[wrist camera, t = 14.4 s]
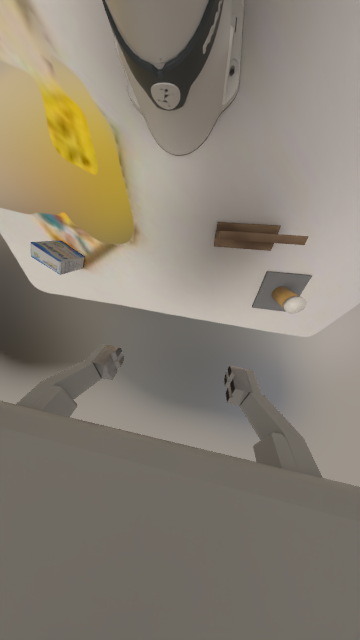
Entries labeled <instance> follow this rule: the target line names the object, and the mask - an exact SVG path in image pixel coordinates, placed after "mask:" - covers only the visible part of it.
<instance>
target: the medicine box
mask: <svg viewBox="0 0 360 640" xmlns="http://www.w3.org/2000/svg"><path fill="white" fill-rule="evenodd" d="M31 257H33V258H34V259H36V260H38V261H39V262H41V263H42V264H44V265H46V266H47V267H49V268H50V269H52V270H53V271H55V272H57V273H58V274H60V275H61V274H65V273H68V272H71V271H75V270H78V269H82V268H83V264H84V259H85V257H84V256H83V255H81V254H80V253H78V252H77V251H75V250H74V249H72V248H71V247H69V246H68V245H66V244H65V243H63V242H62V241H44V242H31Z"/></svg>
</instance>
